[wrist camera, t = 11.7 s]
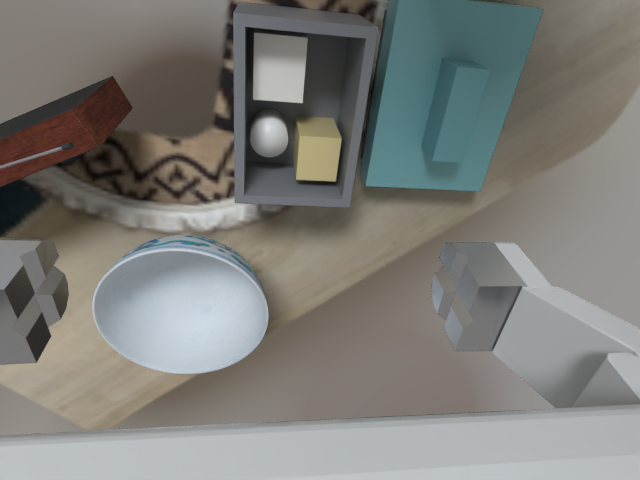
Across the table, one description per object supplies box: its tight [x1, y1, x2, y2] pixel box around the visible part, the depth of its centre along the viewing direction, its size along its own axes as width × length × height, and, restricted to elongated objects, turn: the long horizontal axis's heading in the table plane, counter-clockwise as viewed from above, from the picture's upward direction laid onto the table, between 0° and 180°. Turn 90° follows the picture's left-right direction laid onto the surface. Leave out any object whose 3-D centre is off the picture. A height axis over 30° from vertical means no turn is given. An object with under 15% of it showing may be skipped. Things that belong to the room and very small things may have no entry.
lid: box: [360, 0, 543, 191], centre depth 34 cm, size 15×11×6 cm
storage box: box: [233, 2, 379, 208], centre depth 33 cm, size 13×9×7 cm
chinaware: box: [92, 235, 269, 374], centre depth 41 cm, size 15×15×8 cm
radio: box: [0, 76, 132, 187], centre depth 29 cm, size 19×3×15 cm, turn 110°
